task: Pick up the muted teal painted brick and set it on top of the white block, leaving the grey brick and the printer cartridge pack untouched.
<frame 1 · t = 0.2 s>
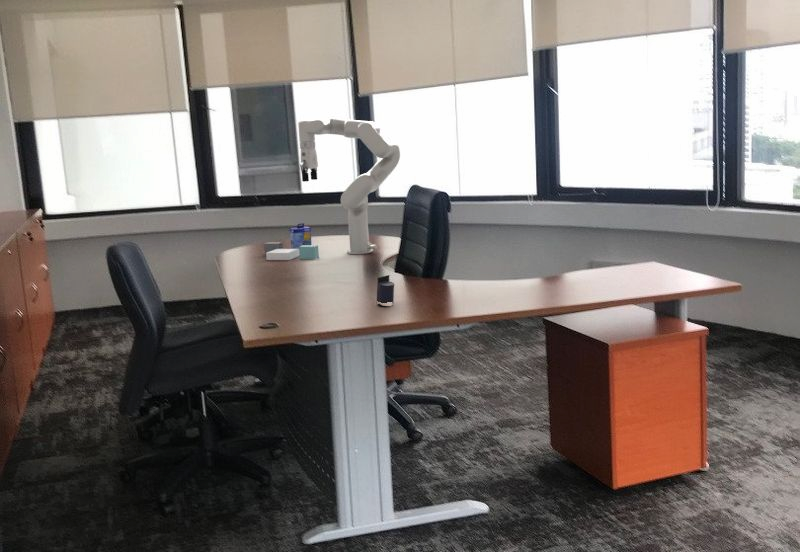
hand: (309, 180, 448), 36 cm above the table, tool pointing down, fingers open, 9 cm apart
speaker: (387, 305, 325), on the table
white block: (283, 257, 444), on the table
grey brick: (274, 254, 457), on the table
ink cartridge box: (301, 251, 461), on the table
teal brick: (309, 258, 439), on the table
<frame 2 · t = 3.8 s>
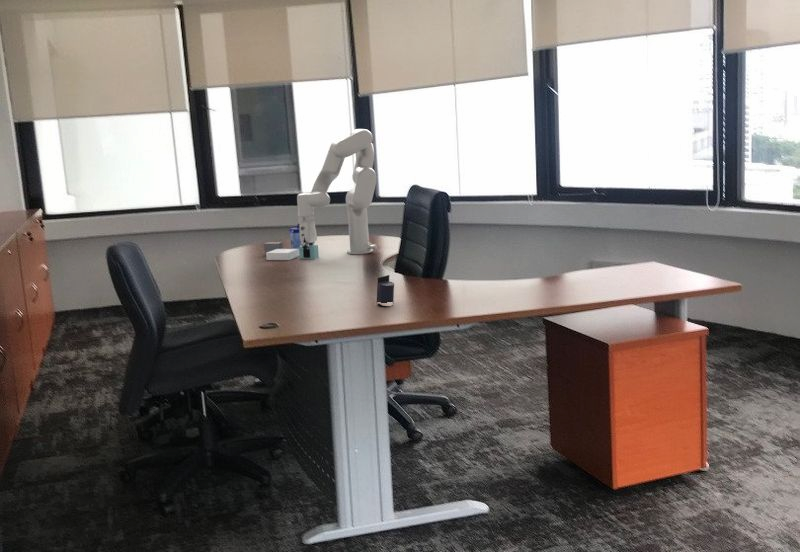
hand: (309, 256, 439), 1 cm above the table, tool pointing down, fingers closed on teal brick, 4 cm apart
teal brick: (309, 258, 439), on the table, touching gripper
everything else where it was.
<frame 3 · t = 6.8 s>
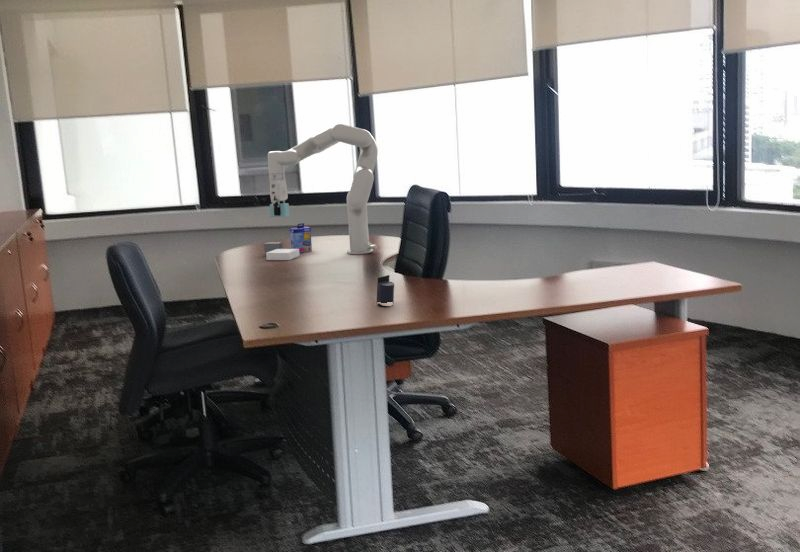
hand: (279, 214, 440), 21 cm above the table, tool pointing down, fingers closed on teal brick, 4 cm apart
teal brick: (280, 216, 440), point 20 cm above the table, touching gripper
everything else where it was.
when the fingers open (6 cm above the table, at t = 9.9 s): teal brick drops 2 cm, resting on white block.
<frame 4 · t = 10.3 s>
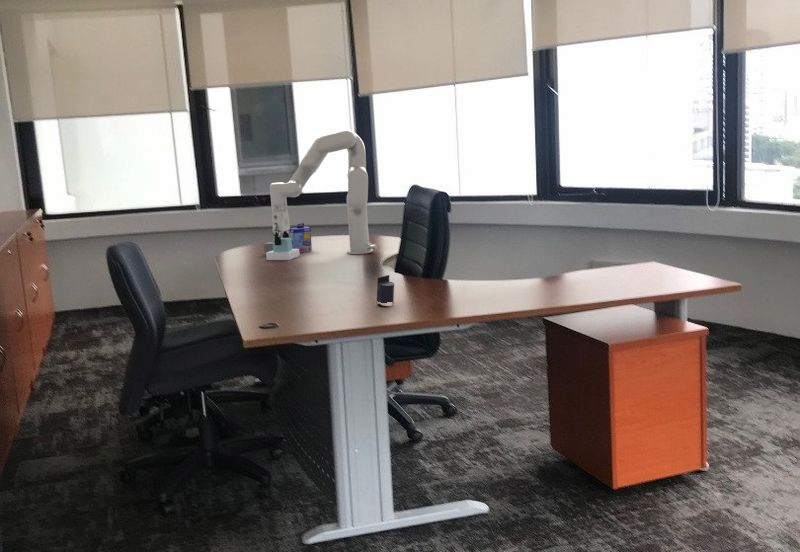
hand: (282, 243, 443), 7 cm above the table, tool pointing down, fingers open, 8 cm apart
teal brick: (282, 250, 443), point 3 cm above the table, touching white block
everything else where it was.
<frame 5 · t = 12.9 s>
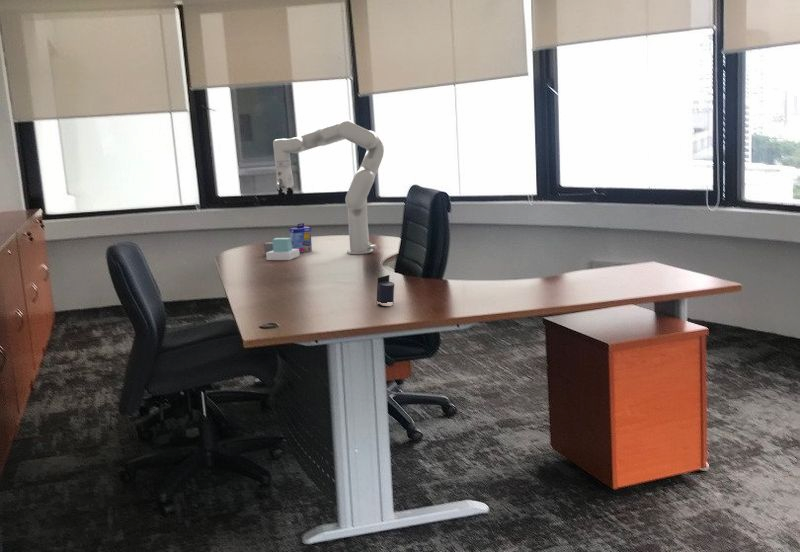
hand: (286, 199, 444), 28 cm above the table, tool pointing down, fingers open, 9 cm apart
nothing on the table moved.
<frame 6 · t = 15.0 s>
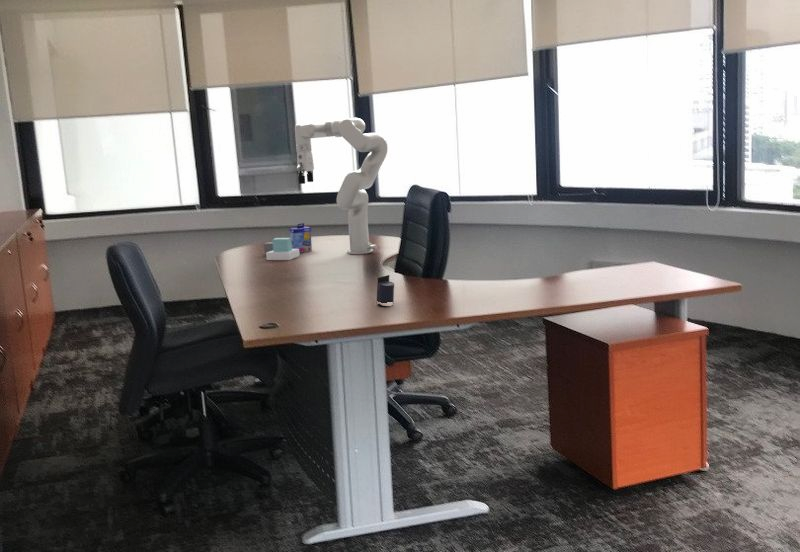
hand: (306, 182, 459), 34 cm above the table, tool pointing down, fingers open, 9 cm apart
nothing on the table moved.
at the end: teal brick inside the target area on the white block (0.1 cm from its centre), point 3.5 cm above the white block's base; teal brick tilted 0°; grey brick moved 0.1 cm from its start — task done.
